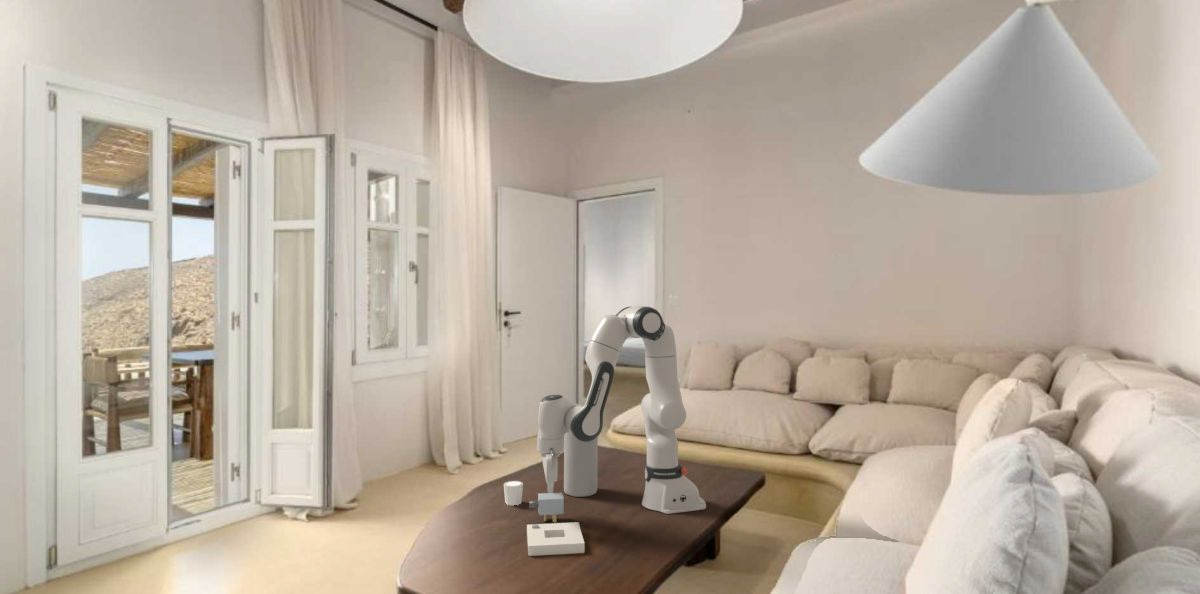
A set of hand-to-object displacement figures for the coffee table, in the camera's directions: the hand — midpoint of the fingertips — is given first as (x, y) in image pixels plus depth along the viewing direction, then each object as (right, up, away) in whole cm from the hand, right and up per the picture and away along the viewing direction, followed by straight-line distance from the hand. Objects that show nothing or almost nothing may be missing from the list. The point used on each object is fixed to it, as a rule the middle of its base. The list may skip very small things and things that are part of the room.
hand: (549, 487), depth 198 cm
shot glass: (-14, -11, +16) cm, 24 cm away
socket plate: (+3, -11, -18) cm, 21 cm away
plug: (-1, -11, 0) cm, 11 cm away
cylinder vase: (+9, -11, +29) cm, 32 cm away
